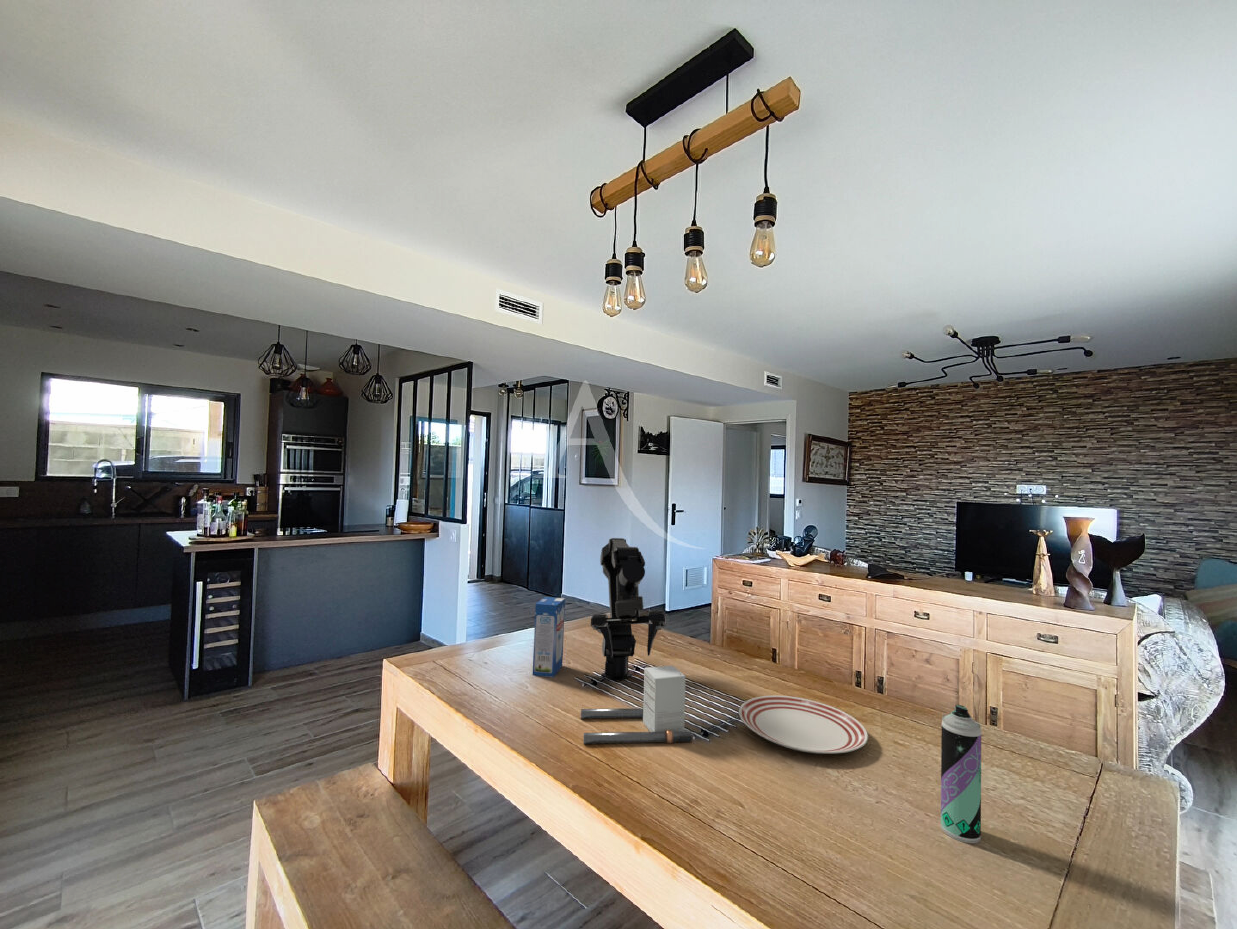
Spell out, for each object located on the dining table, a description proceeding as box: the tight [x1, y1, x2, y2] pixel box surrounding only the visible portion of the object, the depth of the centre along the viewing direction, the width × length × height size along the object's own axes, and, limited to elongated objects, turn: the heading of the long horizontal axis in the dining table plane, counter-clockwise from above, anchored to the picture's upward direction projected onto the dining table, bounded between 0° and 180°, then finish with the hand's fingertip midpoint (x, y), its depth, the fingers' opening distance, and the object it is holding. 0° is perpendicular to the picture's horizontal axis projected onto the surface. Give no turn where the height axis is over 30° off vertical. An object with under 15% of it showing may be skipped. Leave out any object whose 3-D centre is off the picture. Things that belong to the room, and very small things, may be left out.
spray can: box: [940, 704, 982, 844], centre depth 86 cm, size 6×6×20 cm
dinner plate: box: [738, 695, 869, 755], centre depth 120 cm, size 27×27×3 cm
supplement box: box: [642, 665, 686, 732], centre depth 119 cm, size 7×7×13 cm
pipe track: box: [580, 707, 693, 745], centre depth 118 cm, size 23×15×3 cm, turn 97°
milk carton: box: [532, 596, 566, 678], centre depth 154 cm, size 10×6×20 cm, turn 172°
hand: (630, 656), depth 130 cm, fingers open, 9 cm apart
